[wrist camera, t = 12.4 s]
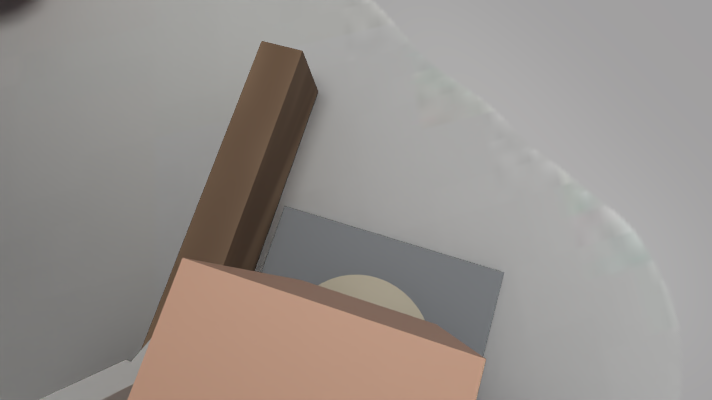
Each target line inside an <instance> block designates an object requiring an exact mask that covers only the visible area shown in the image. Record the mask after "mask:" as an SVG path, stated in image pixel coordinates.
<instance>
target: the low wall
mask: <svg viewBox="0 0 712 400" xmlns="http://www.w3.org/2000/svg"><path fill="white" fill-rule="evenodd" d="M317 93H318V90H317V87H316V85H315V82H314V79H313V77H312V74H311V72H310V69H309V66H308V64H307V61H306V59H305V56H304V53H303V51H301V50H296V49H292V48H288V47H284V46H280V45H276V44H272V43H268V42H264V41H262V42H261V44H260V47H259V49H258V52H257V54H256V57H255V60H254V62H253V65H252V67H251V70H250V72H249V75H248V78H247V80H246V83H245V85H244V88H243V90H242V93H241V95H240V98H239V101H238V103H237V106H236V108H235V111H234V113H233V116H232V118H231V121H230V124H229V126H228V129H227V131H226V134H225V136H224V139H223V141H222V144H221V147H220V149H219V152H218V154H217V157H216V159H215V162H214V164H213V167H212V170H211V172H210V175H209V177H208V180H207V182H206V185H205V187H204V190H203V193H202V195H201V198H200V200H199V203H198V205H197V208H196V210H195V213H194V216H193V218H192V221H191V223H190V226H189V228H188V231H187V234H186V236H185V239H184V241H183V244H182V246H181V249H180V251H179V254H178V257H177V259H176V262H175V264H174V267H173V269H172V272H171V274H170V277H169V280H168V282H167V285H166V287H165V290H164V292H163V295H162V297H161V300H160V303H159V305H158V308H157V310H156V313H155V315H154V318H153V320H152V323H151V326H150V328H149V331H148V333H147V336H146V338H145V341H144V343H143V346H142V348H143V347H144V346H145V345H146V344H147V342H148V341H149V340H150V339H151V338H152V335H153V332H154V330H155V327H156V325H157V322H158V320H159V317H160V314H161V312H162V309H163V307H164V304H165V302H166V299H167V296H168V294H169V291H170V289H171V286H172V284H173V281H174V278H175V276H176V273H177V271H178V268H179V266H180V263H181V260H182V258H187V259H192V260H197V261H203V262H208V263H213V264H219V265H224V266H229V267H235V268H240V269H245V270H250V271H254V270H255V267H256V264H257V261H258V259H259V256H260V253H261V250H262V247H263V245H264V242H265V239H266V236H267V233H268V231H269V228H270V225H271V222H272V219H273V217H274V214H275V211H276V208H277V205H278V203H279V200H280V197H281V194H282V191H283V188H284V186H285V183H286V180H287V177H288V174H289V172H290V169H291V166H292V163H293V160H294V158H295V155H296V152H297V149H298V146H299V144H300V141H301V138H302V135H303V132H304V130H305V127H306V124H307V121H308V118H309V116H310V113H311V110H312V107H313V104H314V102H315V99H316V96H317Z"/></svg>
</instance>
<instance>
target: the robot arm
mask: <svg viewBox="0 0 712 400" xmlns="http://www.w3.org/2000/svg"><path fill="white" fill-rule="evenodd" d="M150 340H151V339H150ZM150 340H149V341H148V342H147V344H146V345H145V346H144V347H143V348H142V349H141V351H140V352H139V353H138V354H137V355H136V356H135V357H134V359H133V360H132V361H128V360H124V361H122V362H120V363H117V364H115V365H113V366H111V367H109V368H106V369H104V370H102V371H100V372H98V373H95V374H93V375H91V376H89V377H87V378H85V379H82V380H80V381H78V382H76V383H74V384H71V385H69V386H67V387H65V388H63V389H60V390H58V391H56V392H54V393H52V394H50V395H47V396H45V397H43V398H41V399H39V400H127V399H128V397H129V394H130V392H131V389H132V387H133V384H134V381H135V379H136V376H137V374H138V371H139V369H140V366H141V363H142V361H143V358H144V356H145V353H146V350H147V348H148V345H149V343H150Z"/></svg>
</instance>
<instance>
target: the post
mask: <svg viewBox="0 0 712 400" xmlns="http://www.w3.org/2000/svg"><path fill="white" fill-rule="evenodd" d="M485 362H486V359H485V358H484V357H482V356H481V355H480V354H478V353H477V352H475V351H474V350H472V349H471V348H470V347H468V346H467V345H465V344H464V343H462V342H461V341H460V340H458V339H457V338H455V337H454V336H452V335H451V334H450V333H448V332H447V331H445V330H444V329H442V328H441V327H439V326H438V325H437V324H434V323H431V322H428V321H425V320H422V319H419V318H416V317H413V316H410V315H407V314H404V313H400V312H397V311H394V310H391V309H388V308H385V307H382V306H379V305H376V304H373V303H370V302H367V301H364V300H361V299H358V298H355V297H352V296H349V295H345V294H342V293H339V292H336V291H333V290H330V289H327V288H324V287H321V286H318V285H315V284H312V283H309V282H306V281H303V280H298V279H293V278H288V277H282V276H277V275H272V274H266V273H261V272H256V271H250V270H245V269H240V268H235V267H229V266H224V265H219V264H213V263H208V262H203V261H197V260H192V259H187V258H182V260H181V263H180V266H179V268H178V271H177V273H176V276H175V278H174V281H173V284H172V286H171V289H170V291H169V294H168V296H167V299H166V302H165V304H164V307H163V309H162V312H161V314H160V317H159V320H158V322H157V325H156V327H155V330H154V332H153V335H152V338H151V340H150V343H149V345H148V348H147V350H146V353H145V356H144V358H143V361H142V363H141V366H140V369H139V371H138V374H137V376H136V379H135V381H134V384H133V387H132V389H131V392H130V394H129V397H128V399H127V400H476V398H477V394H478V390H479V386H480V382H481V378H482V374H483V370H484V366H485Z"/></svg>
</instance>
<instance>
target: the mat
mask: <svg viewBox="0 0 712 400" xmlns="http://www.w3.org/2000/svg"><path fill="white" fill-rule="evenodd" d="M261 273H266V274H272V275H277V276H282V277H288V278H293V279H298V280H303V281H306V282H309V283H312V284H315V285H318V286H321V287H324V288H327V289H330V290H333V291H336V292H339V293H342V294H345V295H349V296H352V297H355V298H358V299H361V300H364V301H367V302H370V303H373V304H376V305H379V306H382V307H385V308H388V309H391V310H394V311H397V312H400V313H404V314H407V315H410V316H413V317H416V318H419V319H422V320H425V321H428V322H431V323H434V324H437V325H438V326H439V327H441V328H442V329H444V330H445V331H447V332H448V333H450V334H451V335H452V336H454V337H455V338H457V339H458V340H460V341H461V342H462V343H464V344H465V345H467V346H468V347H470V348H471V349H472V350H474V351H475V352H477V353H478V354H480V355H481V356H482V357H483V355H484V351H485V347H486V343H487V339H488V335H489V331H490V327H491V323H492V319H493V315H494V311H495V307H496V303H497V299H498V295H499V291H500V287H501V283H502V279H503V275H504V272H501V271H498V270H494V269H491V268H488V267H484V266H481V265H478V264H475V263H471V262H468V261H465V260H461V259H458V258H455V257H451V256H448V255H445V254H442V253H438V252H435V251H432V250H428V249H425V248H422V247H419V246H415V245H412V244H409V243H405V242H402V241H399V240H395V239H392V238H389V237H386V236H382V235H379V234H376V233H372V232H369V231H366V230H362V229H359V228H356V227H353V226H349V225H346V224H343V223H339V222H336V221H333V220H329V219H326V218H323V217H320V216H316V215H313V214H310V213H306V212H303V211H300V210H296V209H293V208H290V207H287V206H285V207H284V210H283V212H282V215H281V218H280V221H279V224H278V227H277V229H276V232H275V235H274V238H273V241H272V244H271V246H270V249H269V252H268V255H267V258H266V261H265V263H264V266H263V269H262V272H261Z"/></svg>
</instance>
